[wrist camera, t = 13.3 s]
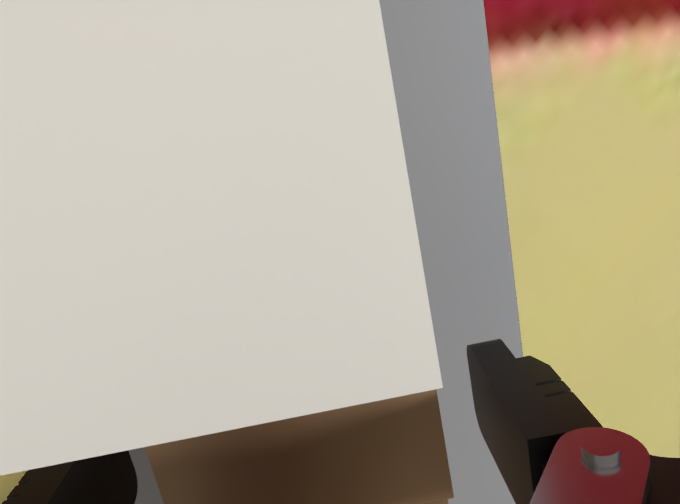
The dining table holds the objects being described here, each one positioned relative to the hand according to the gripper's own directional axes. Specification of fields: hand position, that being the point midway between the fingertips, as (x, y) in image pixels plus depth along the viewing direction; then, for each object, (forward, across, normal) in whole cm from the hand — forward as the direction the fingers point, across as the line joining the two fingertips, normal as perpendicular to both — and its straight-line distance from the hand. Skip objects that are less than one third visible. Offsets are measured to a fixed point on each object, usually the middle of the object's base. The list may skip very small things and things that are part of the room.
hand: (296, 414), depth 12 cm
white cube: (-2, 0, -6) cm, 6 cm away
